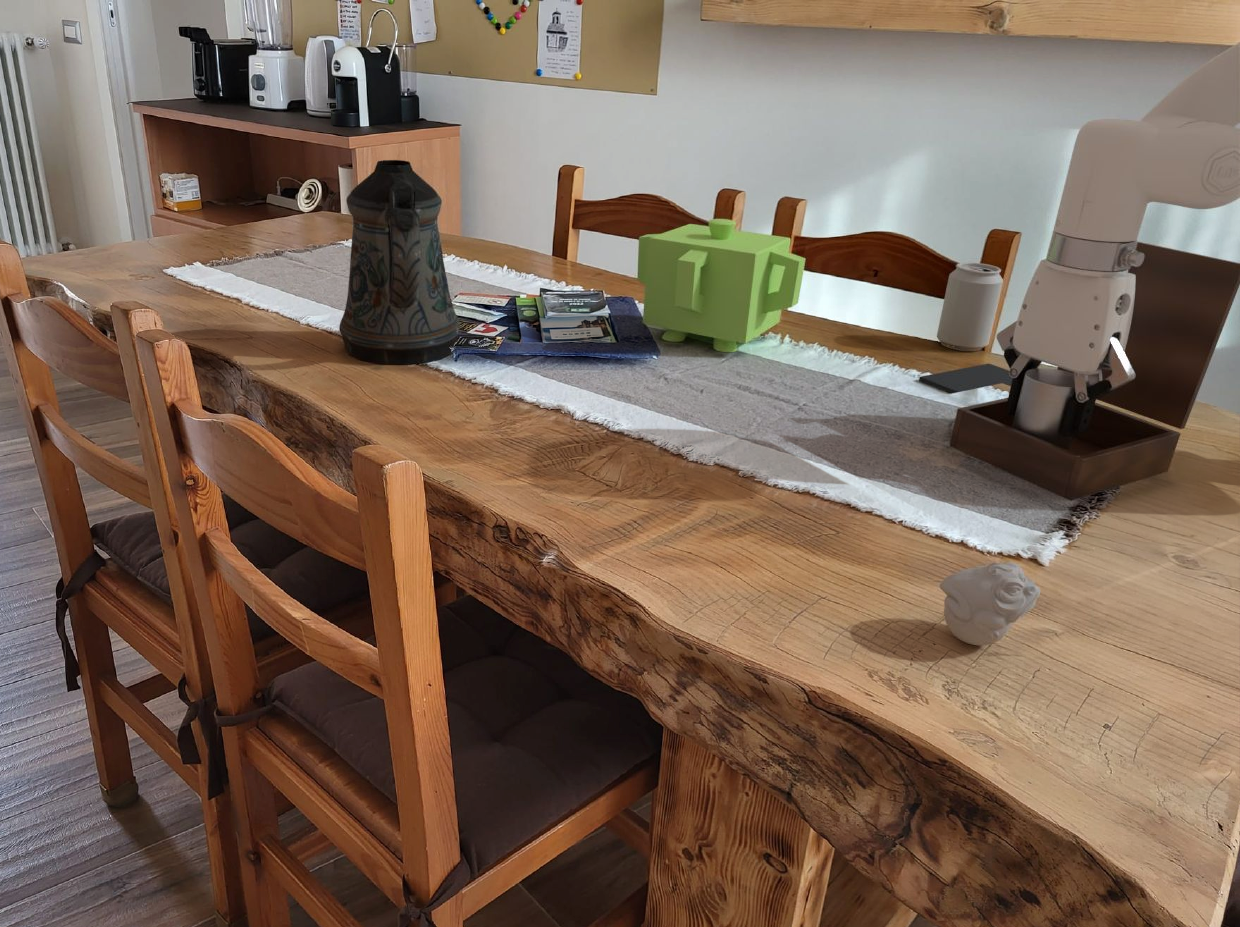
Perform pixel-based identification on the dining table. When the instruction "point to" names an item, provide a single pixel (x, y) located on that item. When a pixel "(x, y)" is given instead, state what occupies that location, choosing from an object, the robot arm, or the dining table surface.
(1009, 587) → the frog figurine
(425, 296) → the dark ornate jug
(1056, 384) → the steel canister
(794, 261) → the green square teapot
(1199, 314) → the lid
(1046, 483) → the brown shallow square box
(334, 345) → the dining table surface
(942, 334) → the can
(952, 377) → the mat
